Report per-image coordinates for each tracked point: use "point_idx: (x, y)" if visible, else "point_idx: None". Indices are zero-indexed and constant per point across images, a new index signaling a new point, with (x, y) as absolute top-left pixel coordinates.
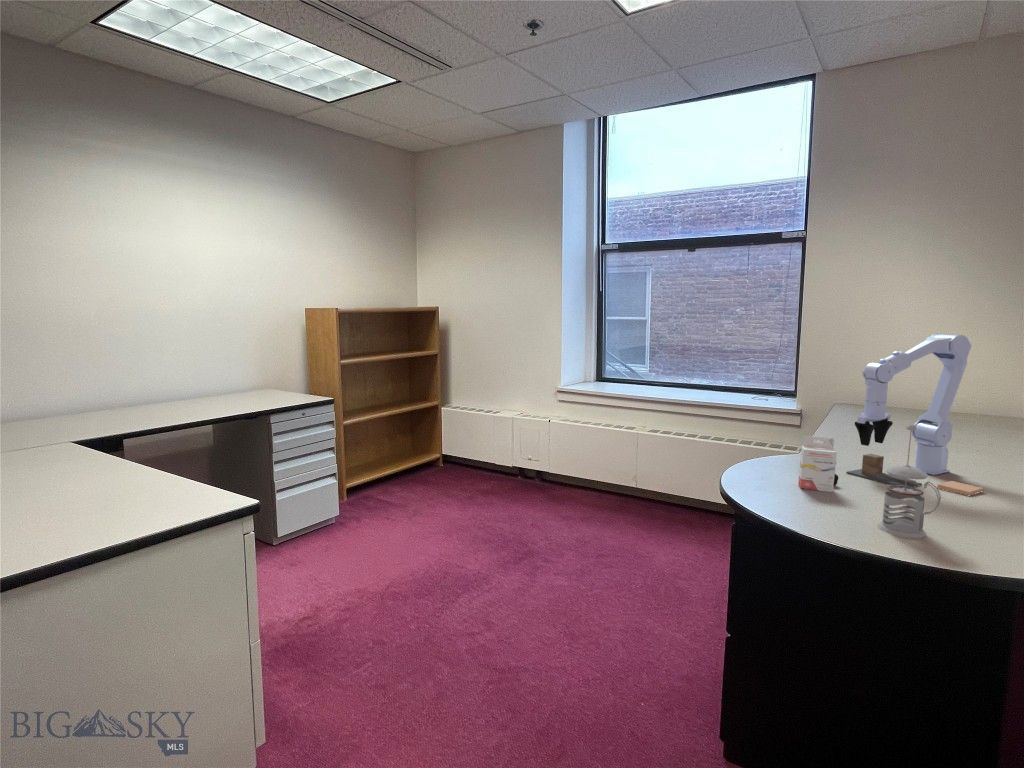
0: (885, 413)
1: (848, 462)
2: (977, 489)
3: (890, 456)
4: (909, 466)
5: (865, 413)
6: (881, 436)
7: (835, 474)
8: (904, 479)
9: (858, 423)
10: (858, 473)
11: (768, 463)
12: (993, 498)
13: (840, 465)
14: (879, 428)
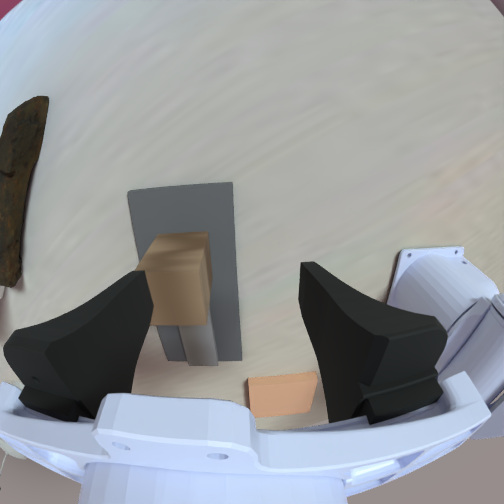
0: (476, 426)
1: (316, 75)
2: (286, 414)
3: (497, 137)
4: (7, 453)
5: (81, 488)
6: (311, 324)
7: (4, 285)
8: (197, 350)
9: (21, 374)
10: (149, 227)
11: (23, 27)
12: (277, 421)
13: (226, 89)
14: (333, 351)
